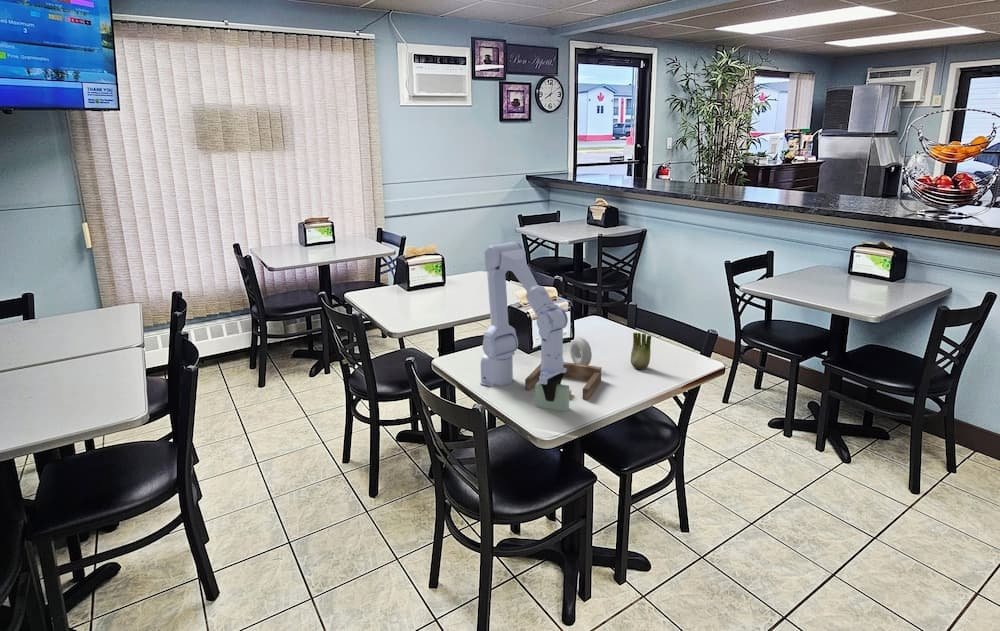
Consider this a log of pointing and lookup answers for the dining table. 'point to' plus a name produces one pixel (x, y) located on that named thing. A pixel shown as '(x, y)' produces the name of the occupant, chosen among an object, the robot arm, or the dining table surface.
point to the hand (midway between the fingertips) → (551, 398)
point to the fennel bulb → (640, 351)
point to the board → (559, 401)
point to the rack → (572, 372)
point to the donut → (585, 349)
